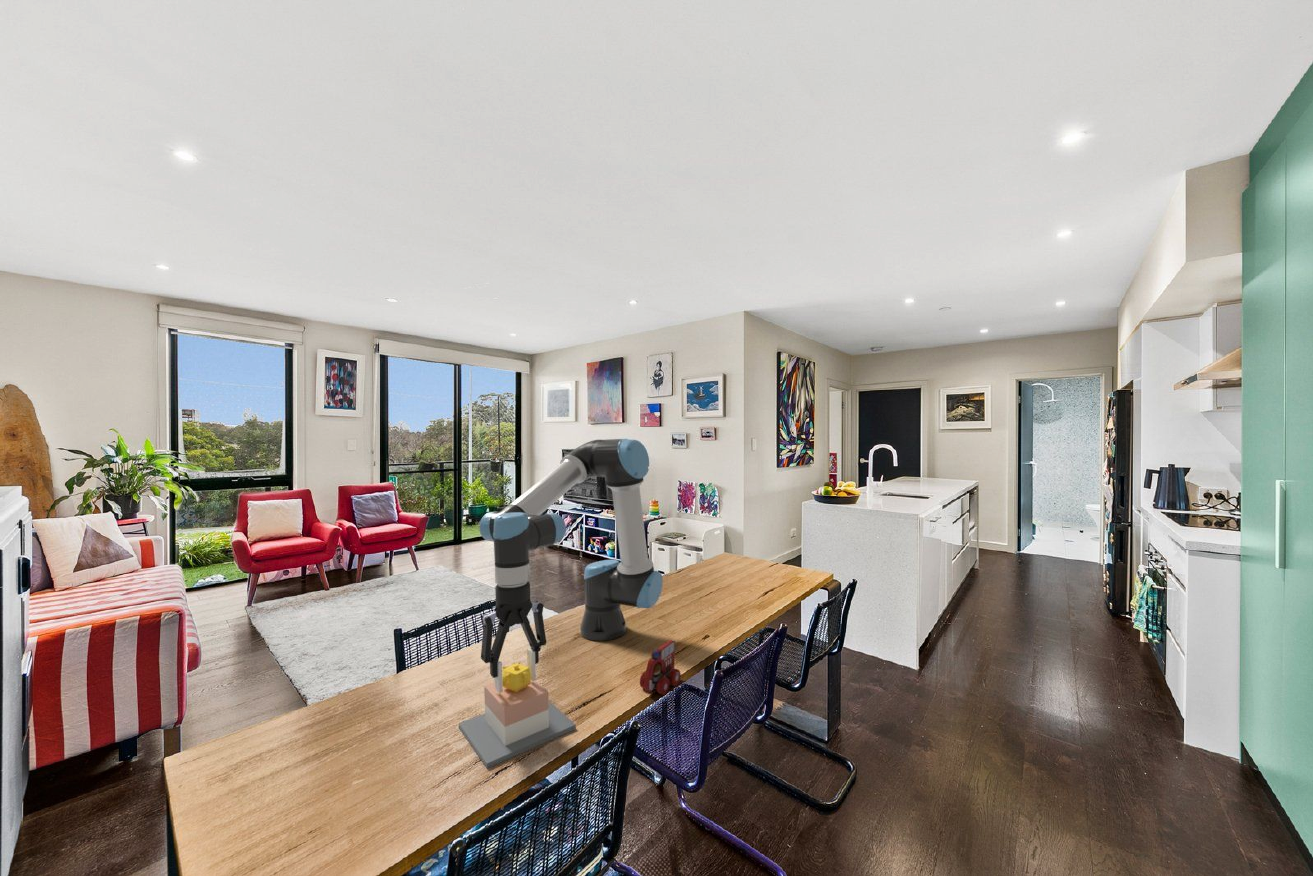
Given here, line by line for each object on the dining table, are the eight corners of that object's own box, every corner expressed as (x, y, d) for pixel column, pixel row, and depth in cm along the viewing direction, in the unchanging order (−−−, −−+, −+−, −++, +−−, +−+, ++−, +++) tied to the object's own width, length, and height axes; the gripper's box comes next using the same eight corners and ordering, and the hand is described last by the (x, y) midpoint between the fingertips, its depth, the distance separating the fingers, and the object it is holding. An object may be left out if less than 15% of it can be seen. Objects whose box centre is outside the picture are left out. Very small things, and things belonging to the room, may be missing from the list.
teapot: (491, 690, 111) (491, 667, 111) (512, 679, 116) (511, 657, 116) (515, 700, 107) (515, 676, 107) (536, 688, 112) (535, 665, 111)
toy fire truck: (635, 693, 126) (634, 652, 125) (663, 673, 136) (662, 635, 135) (657, 701, 121) (656, 659, 121) (684, 680, 132) (683, 641, 131)
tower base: (540, 696, 125) (539, 661, 125) (575, 729, 111) (574, 689, 111) (458, 727, 112) (457, 688, 112) (486, 768, 98) (485, 723, 98)
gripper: (546, 570, 120) (548, 664, 121) (461, 588, 108) (464, 693, 108) (560, 577, 114) (563, 675, 115) (473, 596, 102) (476, 707, 102)
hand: (515, 684), depth 111 cm, fingers open, 7 cm apart
